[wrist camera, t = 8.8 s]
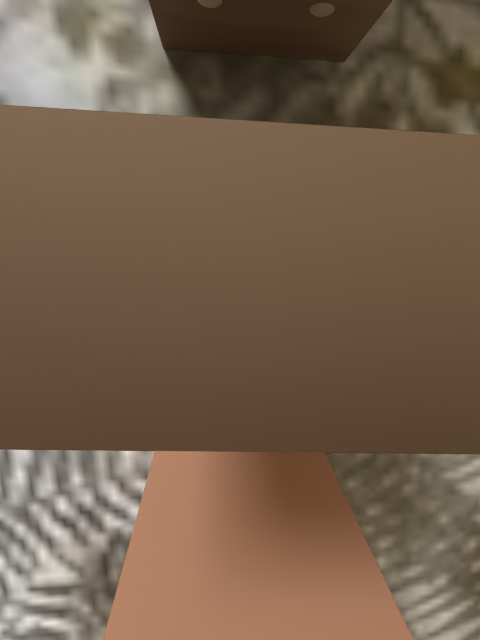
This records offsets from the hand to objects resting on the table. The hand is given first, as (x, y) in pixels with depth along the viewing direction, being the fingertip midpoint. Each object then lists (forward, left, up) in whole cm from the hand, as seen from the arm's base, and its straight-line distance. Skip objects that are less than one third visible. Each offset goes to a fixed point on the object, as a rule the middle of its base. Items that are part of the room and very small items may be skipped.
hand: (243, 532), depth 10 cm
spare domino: (0, 0, -4) cm, 4 cm away
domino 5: (-7, 0, -4) cm, 8 cm away
